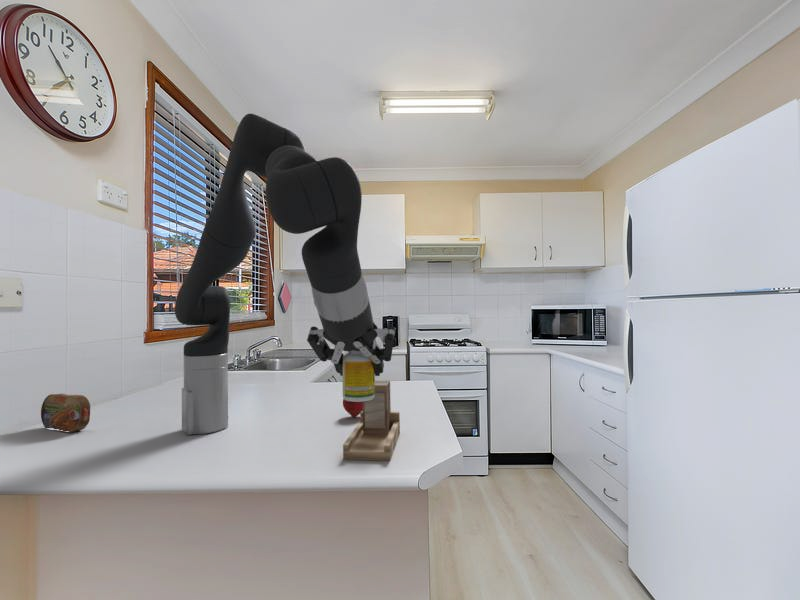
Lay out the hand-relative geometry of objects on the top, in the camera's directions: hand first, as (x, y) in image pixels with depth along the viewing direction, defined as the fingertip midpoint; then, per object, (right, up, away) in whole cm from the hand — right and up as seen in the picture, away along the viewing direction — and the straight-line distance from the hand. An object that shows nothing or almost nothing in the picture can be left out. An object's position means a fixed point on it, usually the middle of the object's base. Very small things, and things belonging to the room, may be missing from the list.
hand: (360, 371), depth 67 cm
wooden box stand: (+2, -17, +11) cm, 20 cm away
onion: (-5, -17, +31) cm, 36 cm away
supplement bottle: (0, -4, -2) cm, 5 cm away
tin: (-72, -19, +25) cm, 78 cm away
